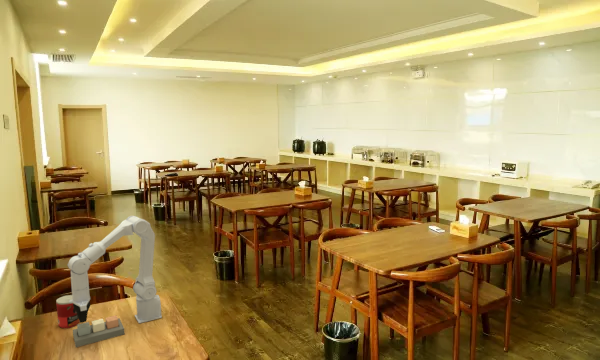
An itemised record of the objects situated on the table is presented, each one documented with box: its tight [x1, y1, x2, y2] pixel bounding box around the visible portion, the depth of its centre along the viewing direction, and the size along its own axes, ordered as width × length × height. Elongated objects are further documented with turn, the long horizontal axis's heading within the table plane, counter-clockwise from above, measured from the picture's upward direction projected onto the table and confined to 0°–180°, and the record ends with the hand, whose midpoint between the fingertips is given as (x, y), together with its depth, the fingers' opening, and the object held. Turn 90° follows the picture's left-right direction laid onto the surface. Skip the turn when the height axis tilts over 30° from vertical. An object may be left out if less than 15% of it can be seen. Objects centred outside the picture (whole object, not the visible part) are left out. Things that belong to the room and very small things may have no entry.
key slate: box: [76, 321, 91, 336], centre depth 158 cm, size 4×4×3 cm
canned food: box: [55, 294, 80, 329], centre depth 170 cm, size 8×8×11 cm
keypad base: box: [72, 317, 125, 348], centre depth 161 cm, size 17×10×2 cm, turn 123°
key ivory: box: [91, 318, 105, 333], centre depth 161 cm, size 4×4×3 cm
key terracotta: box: [105, 314, 119, 329], centre depth 164 cm, size 4×4×3 cm
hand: (83, 321), depth 158 cm, fingers closed
